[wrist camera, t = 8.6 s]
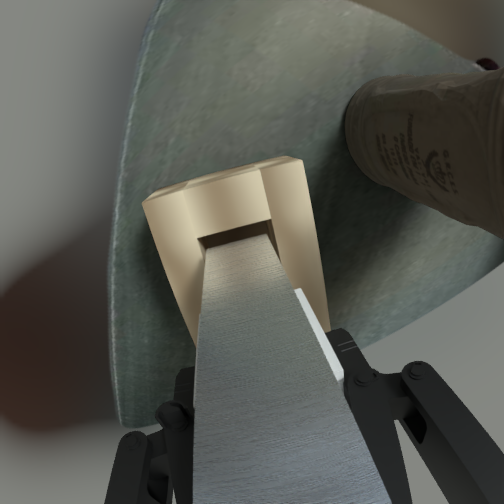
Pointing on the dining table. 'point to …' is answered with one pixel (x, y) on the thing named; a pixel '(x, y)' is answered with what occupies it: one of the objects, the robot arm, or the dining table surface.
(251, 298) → the tall grey pillar
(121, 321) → the dining table surface
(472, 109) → the beer stein
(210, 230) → the well block
